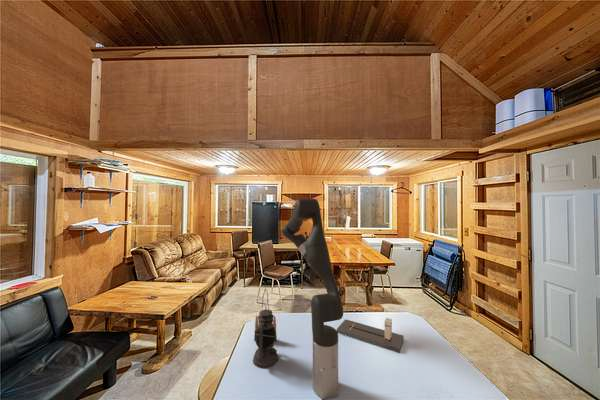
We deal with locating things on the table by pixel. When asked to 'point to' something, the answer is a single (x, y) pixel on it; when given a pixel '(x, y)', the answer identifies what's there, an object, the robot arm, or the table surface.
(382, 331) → the grey fader track base
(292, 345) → the table surface
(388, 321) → the fader cap
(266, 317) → the lantern
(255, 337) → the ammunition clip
